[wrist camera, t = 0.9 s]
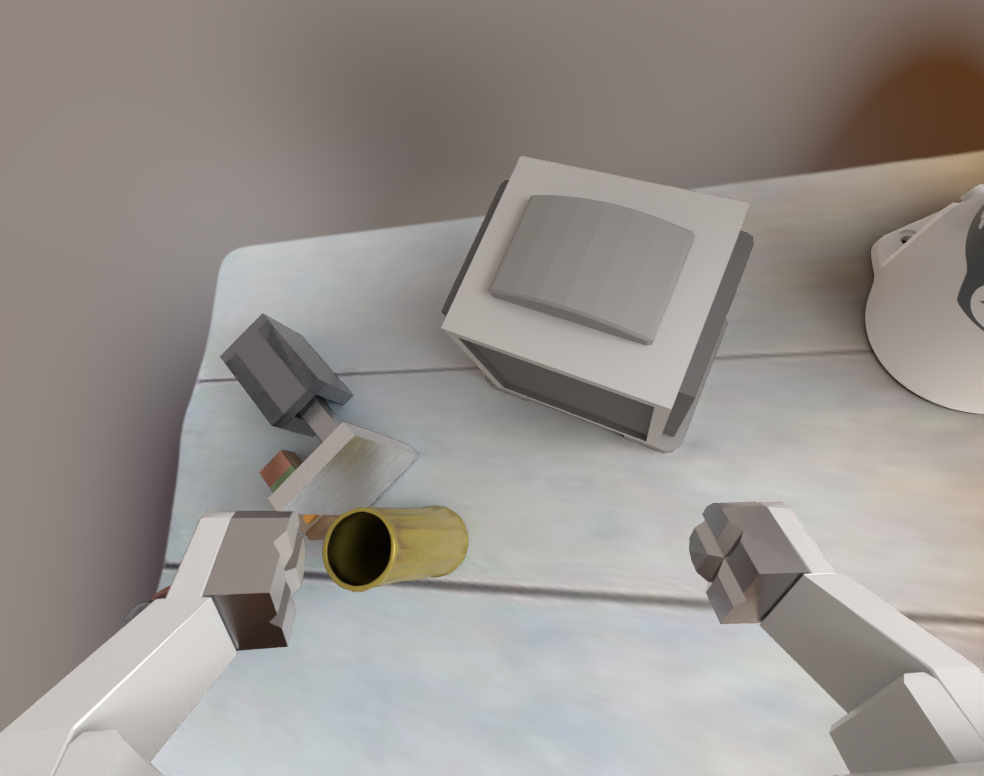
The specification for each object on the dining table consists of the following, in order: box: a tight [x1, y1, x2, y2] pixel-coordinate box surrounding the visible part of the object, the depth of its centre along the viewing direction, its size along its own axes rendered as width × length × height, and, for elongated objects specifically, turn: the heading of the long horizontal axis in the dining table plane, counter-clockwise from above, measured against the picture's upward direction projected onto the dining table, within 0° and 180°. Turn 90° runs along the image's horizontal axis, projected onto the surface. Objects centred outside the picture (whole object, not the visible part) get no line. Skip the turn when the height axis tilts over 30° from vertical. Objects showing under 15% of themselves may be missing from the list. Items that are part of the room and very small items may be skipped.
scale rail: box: [260, 450, 341, 540], centre depth 49 cm, size 3×9×2 cm, turn 44°
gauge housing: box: [220, 314, 353, 437], centre depth 50 cm, size 6×10×6 cm, turn 44°
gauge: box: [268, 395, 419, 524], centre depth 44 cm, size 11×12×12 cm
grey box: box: [441, 156, 754, 453], centre depth 37 cm, size 18×13×18 cm
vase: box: [322, 506, 468, 592], centre depth 39 cm, size 6×6×14 cm
